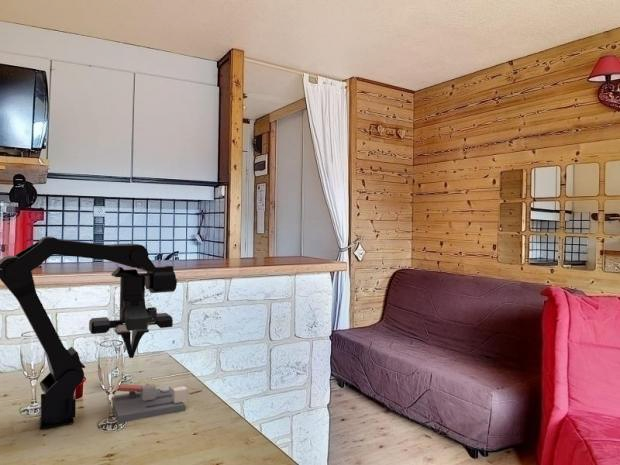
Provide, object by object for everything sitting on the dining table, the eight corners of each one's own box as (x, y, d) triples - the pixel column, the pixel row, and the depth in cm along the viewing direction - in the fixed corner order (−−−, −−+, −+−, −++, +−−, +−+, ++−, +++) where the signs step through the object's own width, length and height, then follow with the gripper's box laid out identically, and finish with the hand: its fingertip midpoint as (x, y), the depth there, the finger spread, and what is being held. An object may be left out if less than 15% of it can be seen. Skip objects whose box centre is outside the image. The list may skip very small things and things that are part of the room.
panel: (118, 422, 104) (118, 411, 104) (109, 402, 116) (109, 391, 116) (184, 410, 112) (184, 399, 112) (169, 392, 124) (170, 382, 124)
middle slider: (142, 401, 113) (143, 388, 113) (140, 397, 115) (141, 385, 115) (155, 399, 114) (155, 386, 114) (153, 395, 116) (153, 384, 116)
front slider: (174, 403, 112) (174, 391, 112) (172, 400, 114) (172, 388, 114) (186, 401, 113) (187, 389, 113) (184, 398, 115) (184, 386, 115)
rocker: (114, 390, 113) (115, 385, 113) (112, 387, 115) (113, 382, 115) (151, 392, 117) (152, 387, 117) (148, 388, 120) (150, 384, 120)
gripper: (94, 301, 102) (93, 371, 102) (179, 296, 112) (177, 361, 112) (89, 294, 111) (88, 359, 111) (167, 291, 121) (166, 350, 121)
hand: (131, 357), depth 114 cm, fingers closed
